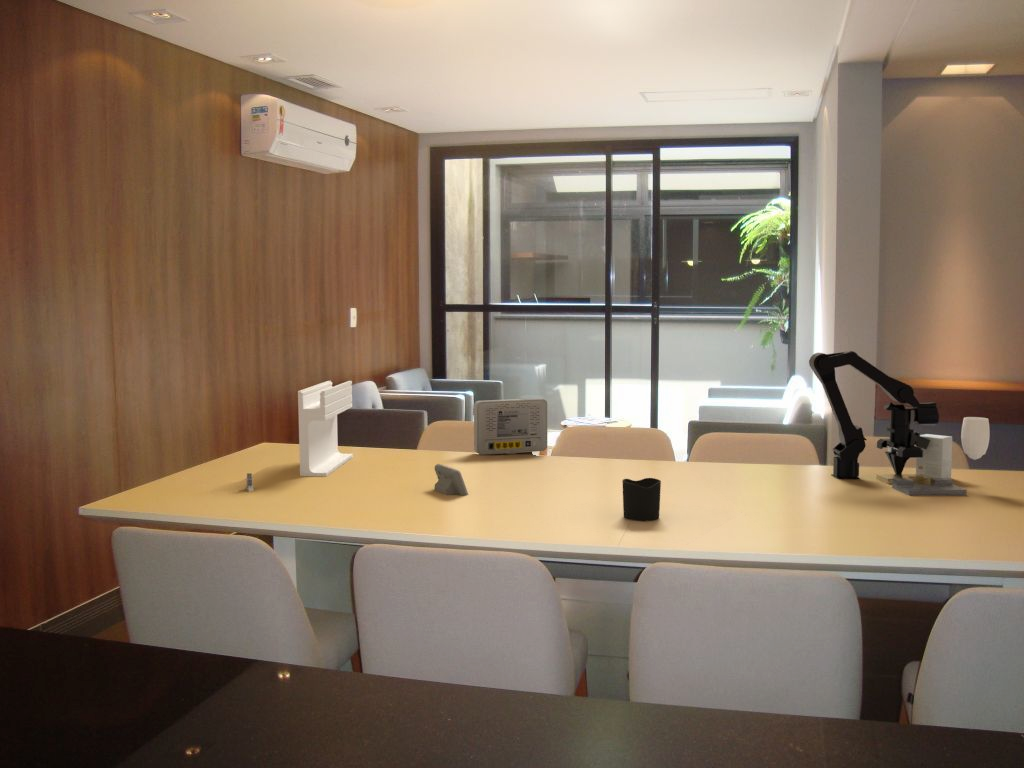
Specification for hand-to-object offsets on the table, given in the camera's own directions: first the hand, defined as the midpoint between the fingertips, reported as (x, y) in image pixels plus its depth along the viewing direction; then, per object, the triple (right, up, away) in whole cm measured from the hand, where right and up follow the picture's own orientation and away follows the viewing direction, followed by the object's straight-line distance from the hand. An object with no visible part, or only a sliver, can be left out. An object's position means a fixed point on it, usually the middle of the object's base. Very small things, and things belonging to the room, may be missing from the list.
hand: (898, 476), depth 286 cm
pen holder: (-84, -6, -50) cm, 98 cm away
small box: (+11, -1, +2) cm, 12 cm away
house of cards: (-191, -5, -23) cm, 193 cm away
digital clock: (-133, -4, -23) cm, 136 cm away
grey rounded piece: (+14, -3, -17) cm, 22 cm away
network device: (-117, +2, +44) cm, 125 cm away
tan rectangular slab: (0, -2, -6) cm, 6 cm away
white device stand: (-175, -1, +15) cm, 175 cm away
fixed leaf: (0, -3, -20) cm, 20 cm away
